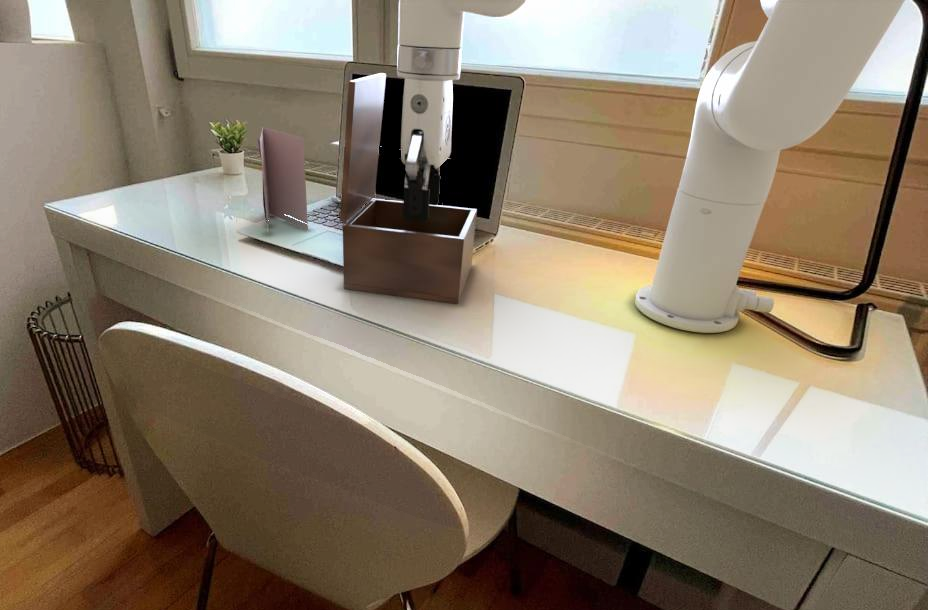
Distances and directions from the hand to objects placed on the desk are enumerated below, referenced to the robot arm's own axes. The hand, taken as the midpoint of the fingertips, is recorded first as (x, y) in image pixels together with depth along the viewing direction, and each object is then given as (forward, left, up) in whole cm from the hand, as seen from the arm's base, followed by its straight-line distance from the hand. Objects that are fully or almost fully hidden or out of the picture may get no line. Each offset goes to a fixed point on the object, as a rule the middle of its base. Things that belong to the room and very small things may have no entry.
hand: (421, 210), depth 76 cm
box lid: (+8, 0, +8) cm, 11 cm away
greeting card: (+27, -16, -10) cm, 33 cm away
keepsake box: (+1, 0, -10) cm, 10 cm away
